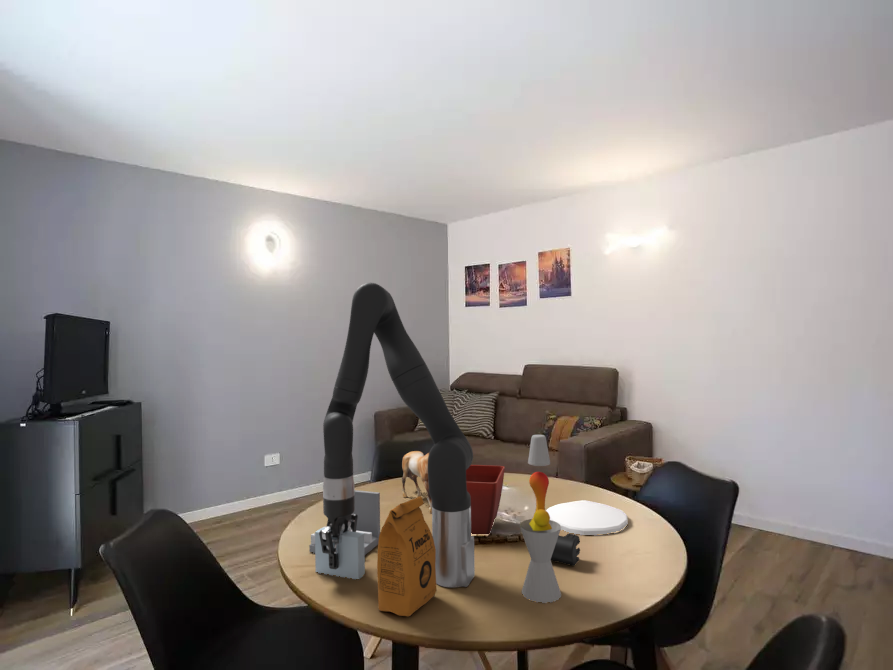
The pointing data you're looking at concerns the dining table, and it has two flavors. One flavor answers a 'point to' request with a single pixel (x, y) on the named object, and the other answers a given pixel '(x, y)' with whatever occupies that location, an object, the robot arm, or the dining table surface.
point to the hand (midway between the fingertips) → (339, 563)
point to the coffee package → (405, 560)
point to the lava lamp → (540, 532)
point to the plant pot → (484, 495)
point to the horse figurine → (416, 472)
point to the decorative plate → (588, 517)
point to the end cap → (566, 549)
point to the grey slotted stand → (364, 519)
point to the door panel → (343, 556)
